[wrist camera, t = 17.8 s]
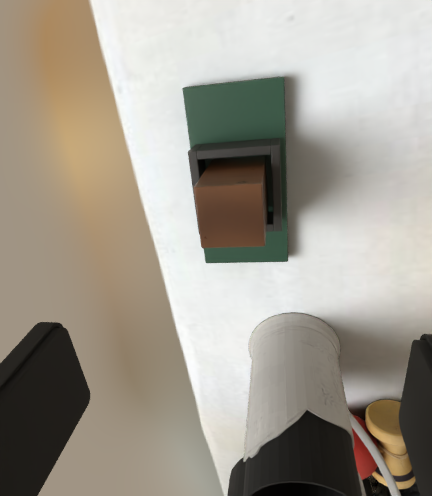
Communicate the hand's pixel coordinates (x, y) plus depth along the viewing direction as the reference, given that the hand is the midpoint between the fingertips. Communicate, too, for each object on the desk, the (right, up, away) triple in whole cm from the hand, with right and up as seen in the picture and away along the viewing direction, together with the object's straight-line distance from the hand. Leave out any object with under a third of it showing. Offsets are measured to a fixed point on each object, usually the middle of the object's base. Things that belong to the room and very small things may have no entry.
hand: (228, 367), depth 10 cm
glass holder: (+10, -8, +26) cm, 29 cm away
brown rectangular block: (+2, +8, +18) cm, 20 cm away
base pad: (+2, +9, +19) cm, 21 cm away
